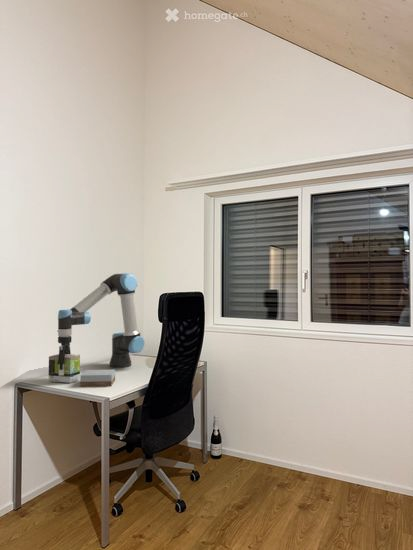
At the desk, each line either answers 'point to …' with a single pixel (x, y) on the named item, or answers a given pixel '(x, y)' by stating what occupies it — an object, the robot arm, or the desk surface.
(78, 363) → the tea box
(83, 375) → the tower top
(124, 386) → the desk surface
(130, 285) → the robot arm
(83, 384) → the tower base
